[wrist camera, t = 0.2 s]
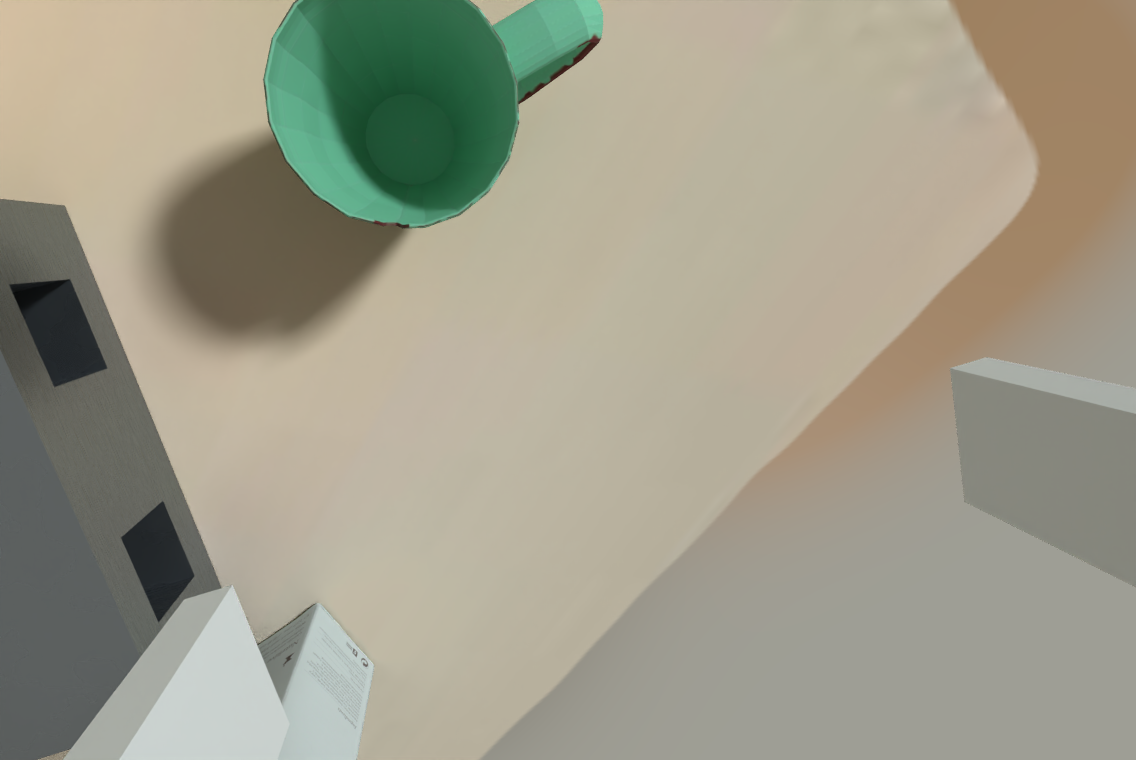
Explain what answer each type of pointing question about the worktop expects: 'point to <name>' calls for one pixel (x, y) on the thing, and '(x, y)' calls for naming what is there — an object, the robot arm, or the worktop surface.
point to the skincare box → (319, 686)
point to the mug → (412, 97)
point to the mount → (76, 495)
